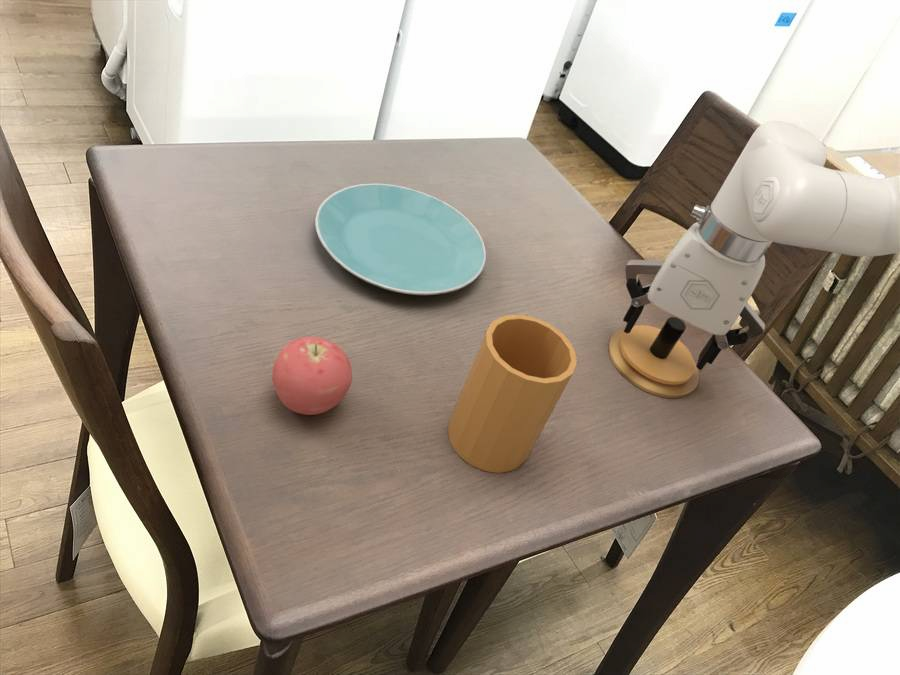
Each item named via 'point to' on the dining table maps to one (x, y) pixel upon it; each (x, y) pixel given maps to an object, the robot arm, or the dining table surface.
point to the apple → (311, 375)
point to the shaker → (510, 392)
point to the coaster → (642, 380)
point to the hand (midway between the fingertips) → (663, 344)
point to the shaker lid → (659, 352)
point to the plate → (400, 239)
